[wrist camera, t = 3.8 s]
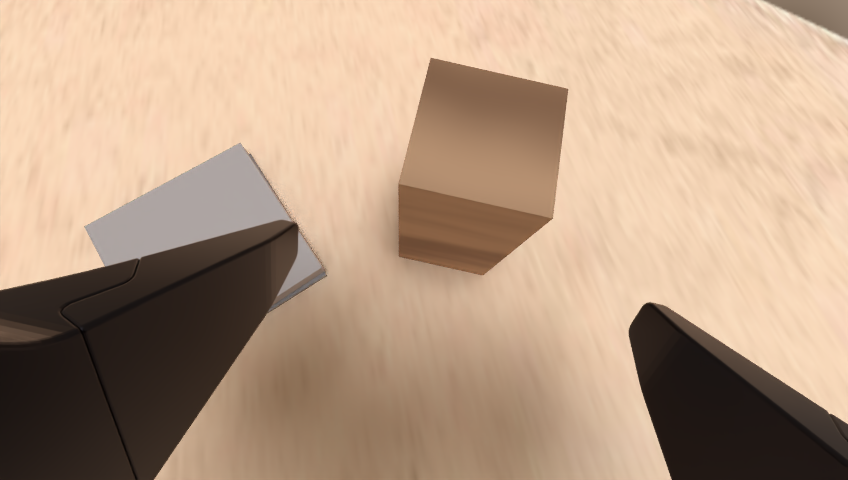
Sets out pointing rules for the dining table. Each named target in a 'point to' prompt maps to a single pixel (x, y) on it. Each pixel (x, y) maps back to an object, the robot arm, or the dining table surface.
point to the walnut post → (478, 166)
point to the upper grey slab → (200, 215)
